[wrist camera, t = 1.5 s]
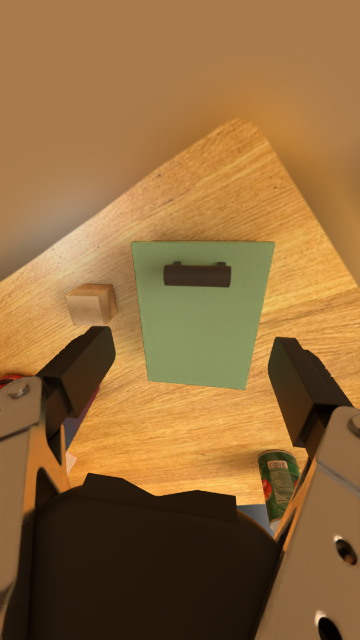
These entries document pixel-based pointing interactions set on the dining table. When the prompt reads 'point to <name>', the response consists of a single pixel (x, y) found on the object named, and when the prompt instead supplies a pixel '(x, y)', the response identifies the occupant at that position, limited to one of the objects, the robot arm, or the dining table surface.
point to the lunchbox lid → (201, 308)
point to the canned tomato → (278, 482)
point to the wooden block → (91, 305)
